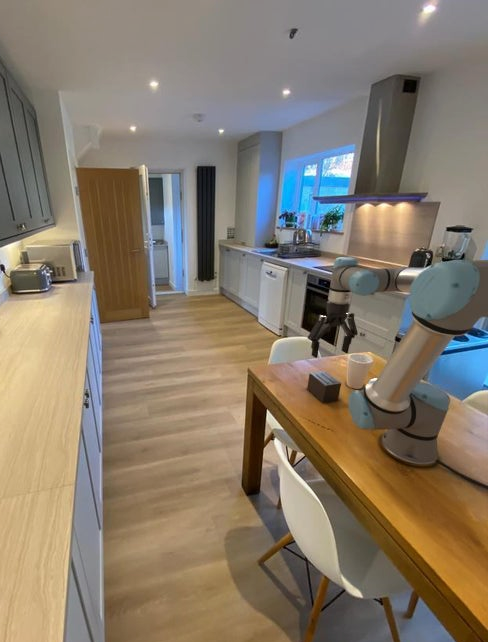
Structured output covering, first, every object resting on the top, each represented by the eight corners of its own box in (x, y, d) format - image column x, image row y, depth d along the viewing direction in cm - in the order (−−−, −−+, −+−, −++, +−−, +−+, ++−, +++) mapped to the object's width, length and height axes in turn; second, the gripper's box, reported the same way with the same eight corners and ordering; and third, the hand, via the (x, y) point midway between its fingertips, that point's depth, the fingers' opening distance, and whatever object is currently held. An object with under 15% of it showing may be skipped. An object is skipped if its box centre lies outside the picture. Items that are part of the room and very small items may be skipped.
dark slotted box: (305, 387, 140) (307, 370, 136) (319, 385, 141) (322, 368, 138) (322, 402, 129) (325, 385, 125) (337, 400, 130) (341, 382, 127)
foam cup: (369, 391, 136) (376, 364, 130) (345, 389, 137) (351, 362, 132) (362, 380, 144) (369, 354, 138) (340, 378, 146) (345, 352, 140)
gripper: (314, 307, 111) (306, 362, 120) (375, 301, 117) (363, 354, 126) (302, 302, 118) (295, 354, 127) (360, 296, 123) (350, 346, 132)
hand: (329, 354), depth 126 cm, fingers open, 13 cm apart
